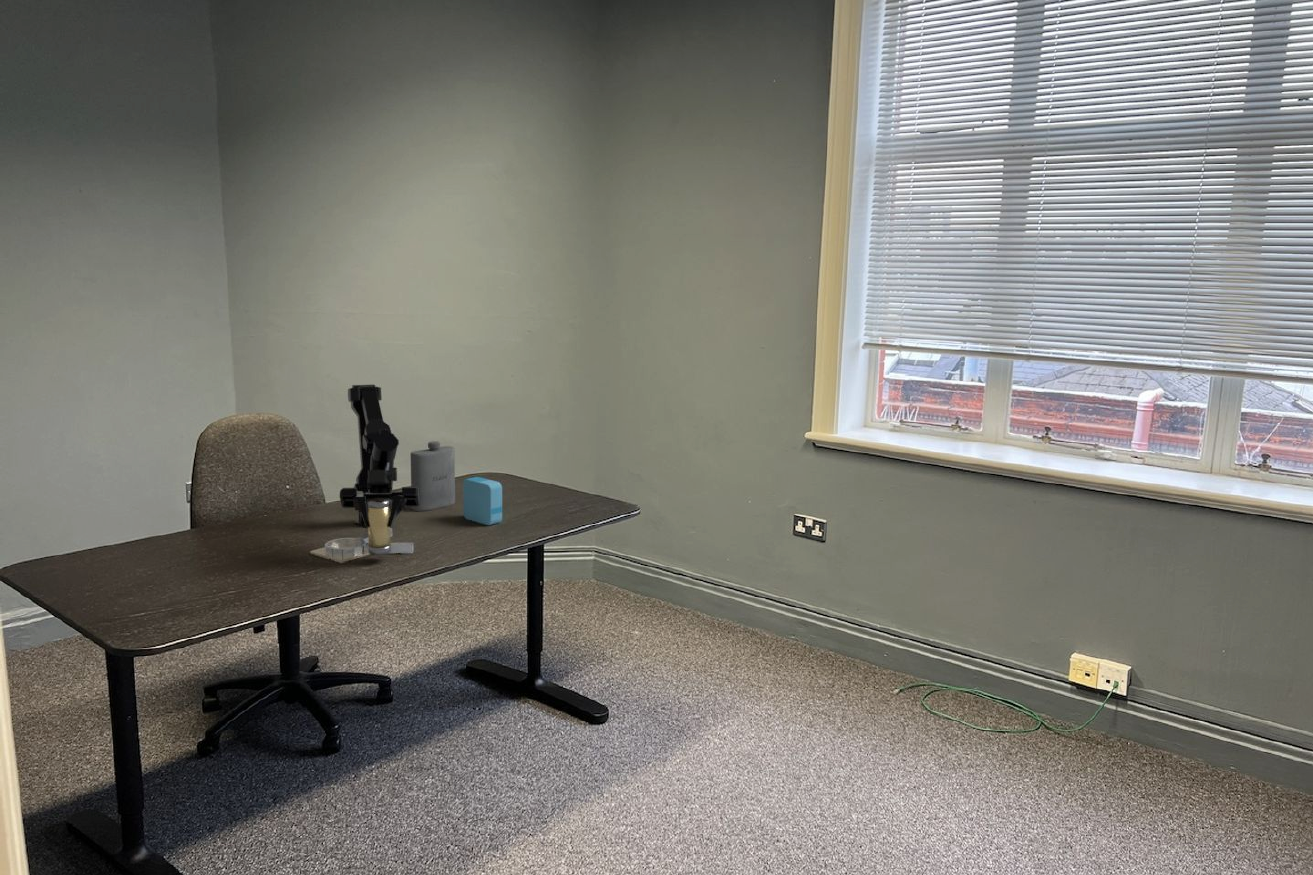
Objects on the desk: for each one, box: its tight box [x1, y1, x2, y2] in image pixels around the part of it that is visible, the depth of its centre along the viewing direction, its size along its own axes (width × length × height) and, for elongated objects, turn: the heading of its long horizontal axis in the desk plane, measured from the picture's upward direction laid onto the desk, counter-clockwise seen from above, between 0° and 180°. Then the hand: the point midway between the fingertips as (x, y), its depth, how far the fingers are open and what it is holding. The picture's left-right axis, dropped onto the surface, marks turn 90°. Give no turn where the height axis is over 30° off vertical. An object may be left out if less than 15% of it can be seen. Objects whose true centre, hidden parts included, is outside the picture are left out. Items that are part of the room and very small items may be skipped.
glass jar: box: [367, 498, 391, 556], centre depth 228 cm, size 5×5×13 cm
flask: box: [410, 440, 456, 512], centre depth 279 cm, size 15×6×20 cm, turn 141°
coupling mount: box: [309, 527, 414, 564], centre depth 238 cm, size 20×23×2 cm
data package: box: [462, 476, 503, 526], centre depth 266 cm, size 12×4×12 cm, turn 51°
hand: (378, 527), depth 227 cm, fingers closed on glass jar, 5 cm apart
